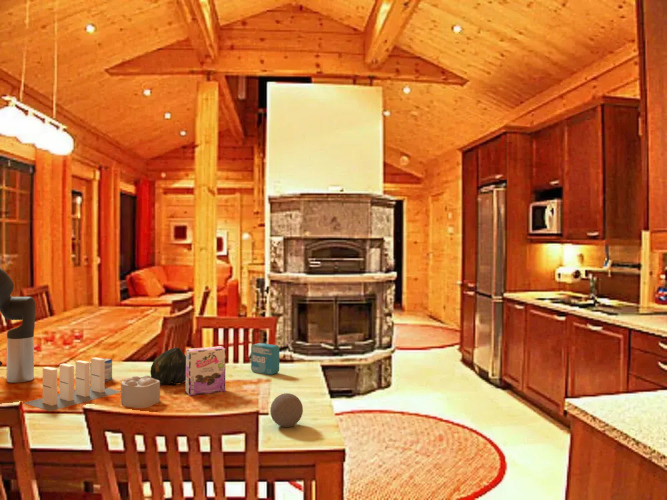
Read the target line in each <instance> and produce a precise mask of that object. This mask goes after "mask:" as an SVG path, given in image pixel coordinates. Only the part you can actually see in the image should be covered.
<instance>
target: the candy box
mask: <svg viewBox="0 0 667 500" xmlns="http://www.w3.org/2000/svg"><path fill="white" fill-rule="evenodd" d="M226 352H227V350H226V348H225V347H223V346H221V345H219V346H218V345H217V346H207V347H197V348H195V347H194V348H193V347H192V348H186V349H185V356H186V380H185V391H184V392H185V394H187V395H188V396H197V395H199V396H200V395H205V394H207V393H208V394H215V393H222V392H221V391H224V392H226V354H227V353H226ZM214 392H215V393H214ZM208 394H207V395H208Z"/></svg>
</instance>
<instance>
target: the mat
mask: <svg viewBox="0 0 667 500" xmlns="http://www.w3.org/2000/svg"><path fill="white" fill-rule="evenodd" d="M119 393H121V390H116V389H112V388H109V387H105V392H101V393H99V392H95V391H92V390H91V385H90V396H86V397H84V396H80V395H77V394H76V389H74V400H71V401H67V400H63V399H60V393H57V404H56V405H52V406H51V405H48V404H45V403H43V397H41V398H37V399H33V400H29V401H26V402H24V404H26V405H28V406H32V407H35V408H38V409H41V410H44V411H47V412H53V411H56V410H60V409H61V410H62V409H65V408H68V407H71V406H76V405H78V404H79V405H80V404H82V403H87V402H90V401H93V400H97V399H101V398H105V397H108V396H111V395H115V394H119Z"/></svg>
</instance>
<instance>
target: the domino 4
mask: <svg viewBox="0 0 667 500" xmlns="http://www.w3.org/2000/svg"><path fill="white" fill-rule="evenodd" d="M105 359H106V358H100V357H91V358H90V363H91V383H90V386H91V390H92V391H95V392H99V393H101V392H105V383H106V382H105Z"/></svg>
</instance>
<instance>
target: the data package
mask: <svg viewBox="0 0 667 500" xmlns="http://www.w3.org/2000/svg"><path fill="white" fill-rule="evenodd" d="M250 349H251V352H250V354H251V355H250V359H251V360H250V361H251V362H250V370H251V372H253V373H257V374H263V375H268V376H273V375H274V374H275V375H276V374H278V373H279V371H280V347H279V345H277V344H269V343H264V342H263V343H262V342H259V343H254V344H252V345H251V348H250Z"/></svg>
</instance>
